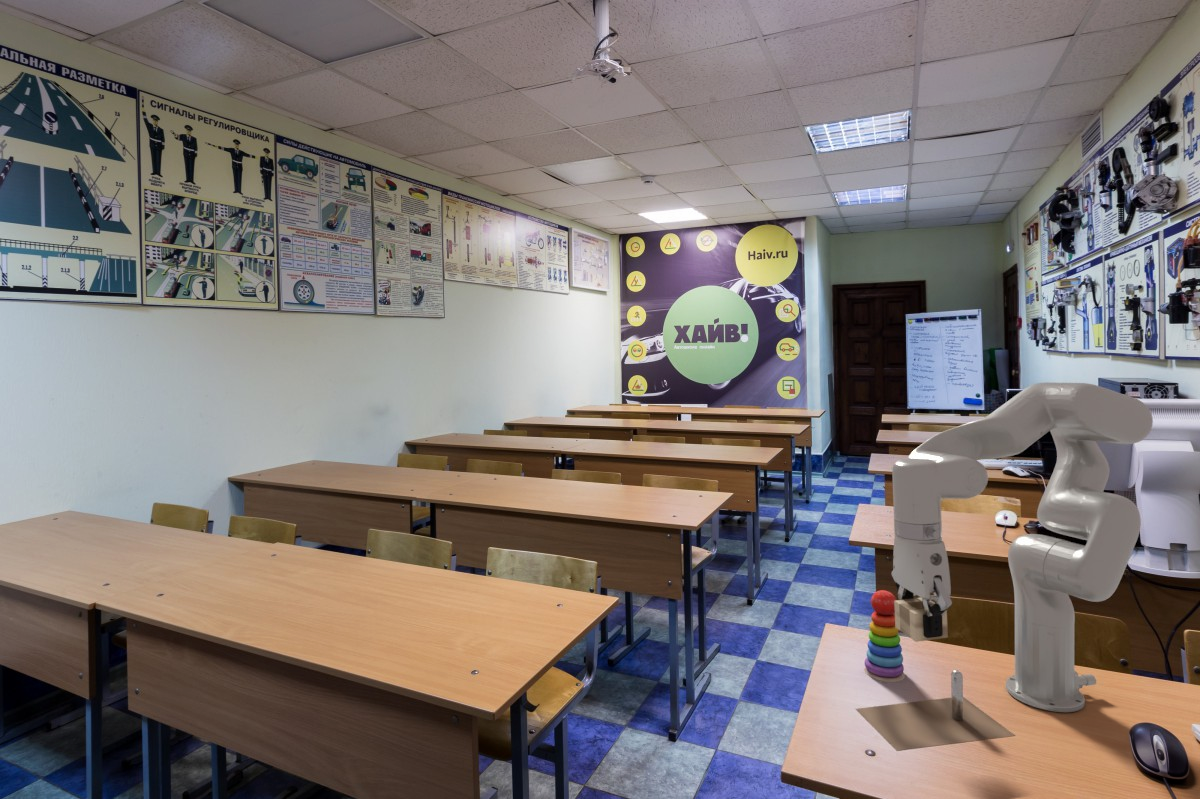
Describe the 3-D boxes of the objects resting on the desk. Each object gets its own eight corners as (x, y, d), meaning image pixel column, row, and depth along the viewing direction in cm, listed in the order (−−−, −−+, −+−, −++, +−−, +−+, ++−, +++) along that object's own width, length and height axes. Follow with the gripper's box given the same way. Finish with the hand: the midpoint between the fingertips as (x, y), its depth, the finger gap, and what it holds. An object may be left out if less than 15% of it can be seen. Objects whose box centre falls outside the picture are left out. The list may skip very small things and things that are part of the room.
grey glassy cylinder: (958, 715, 115) (957, 667, 114) (965, 720, 113) (964, 672, 112) (949, 716, 114) (948, 668, 114) (956, 721, 113) (955, 673, 112)
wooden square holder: (925, 623, 115) (924, 596, 115) (947, 637, 109) (946, 609, 109) (895, 627, 115) (894, 600, 114) (915, 641, 109) (914, 613, 108)
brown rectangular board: (962, 703, 121) (962, 696, 121) (1015, 743, 108) (1015, 735, 108) (855, 716, 118) (855, 708, 118) (896, 759, 105) (896, 750, 105)
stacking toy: (910, 690, 126) (909, 599, 125) (868, 687, 128) (866, 598, 127) (900, 671, 134) (898, 585, 133) (860, 669, 136) (858, 584, 135)
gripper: (971, 540, 103) (974, 647, 104) (907, 515, 120) (910, 607, 121) (929, 545, 102) (932, 653, 103) (870, 519, 119) (874, 611, 120)
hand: (921, 627), depth 112 cm, fingers closed on wooden square holder, 5 cm apart
